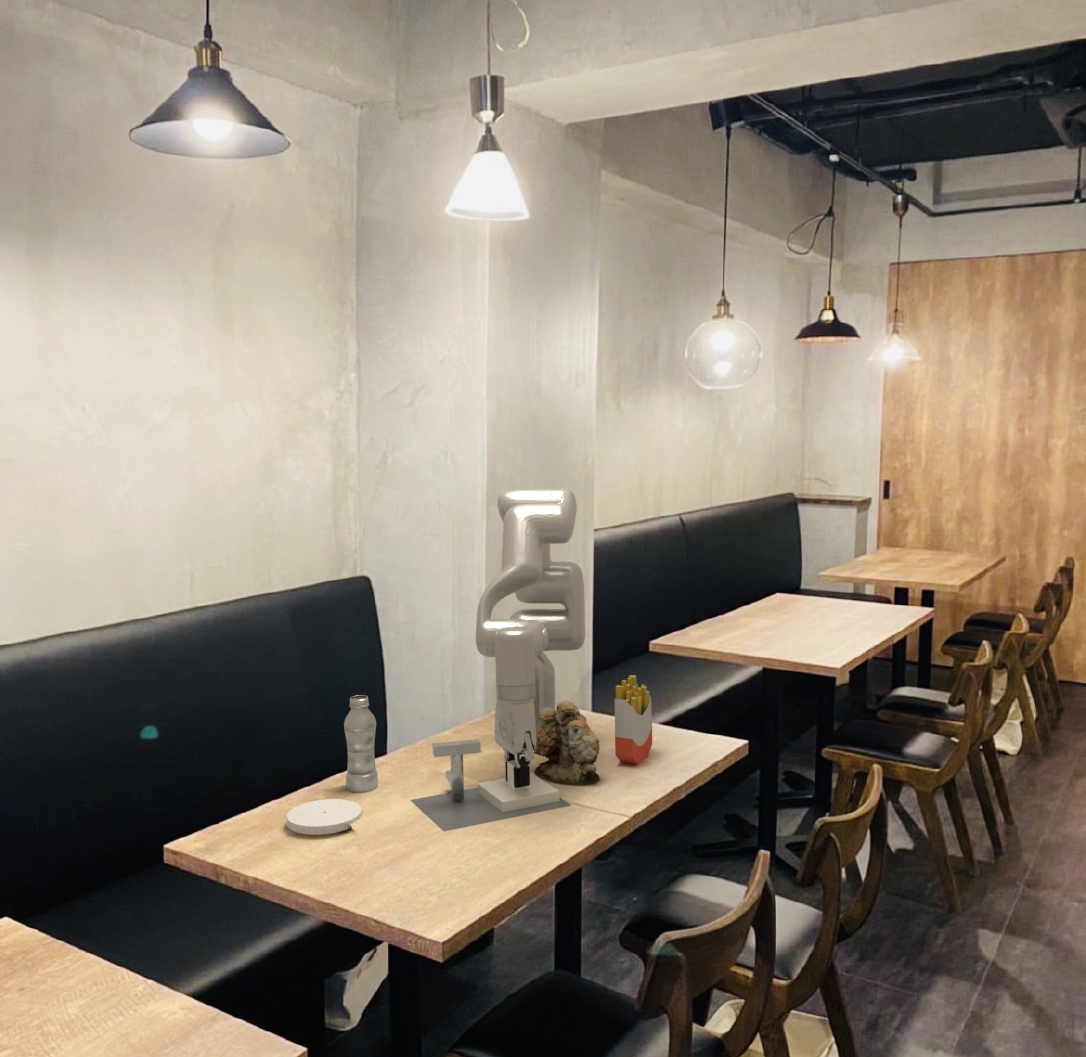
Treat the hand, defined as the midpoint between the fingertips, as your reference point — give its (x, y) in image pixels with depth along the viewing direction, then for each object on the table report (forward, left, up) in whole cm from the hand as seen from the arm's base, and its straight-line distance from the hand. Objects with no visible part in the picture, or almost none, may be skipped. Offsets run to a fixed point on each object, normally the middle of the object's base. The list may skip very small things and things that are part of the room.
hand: (517, 782), depth 206 cm
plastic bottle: (+25, -21, -5) cm, 33 cm away
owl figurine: (-14, -7, -5) cm, 16 cm away
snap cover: (0, 0, -3) cm, 3 cm away
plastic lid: (+36, -9, -5) cm, 37 cm away
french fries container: (-34, -12, -5) cm, 36 cm away
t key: (+10, -7, -3) cm, 13 cm away
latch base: (+6, 0, -4) cm, 7 cm away
